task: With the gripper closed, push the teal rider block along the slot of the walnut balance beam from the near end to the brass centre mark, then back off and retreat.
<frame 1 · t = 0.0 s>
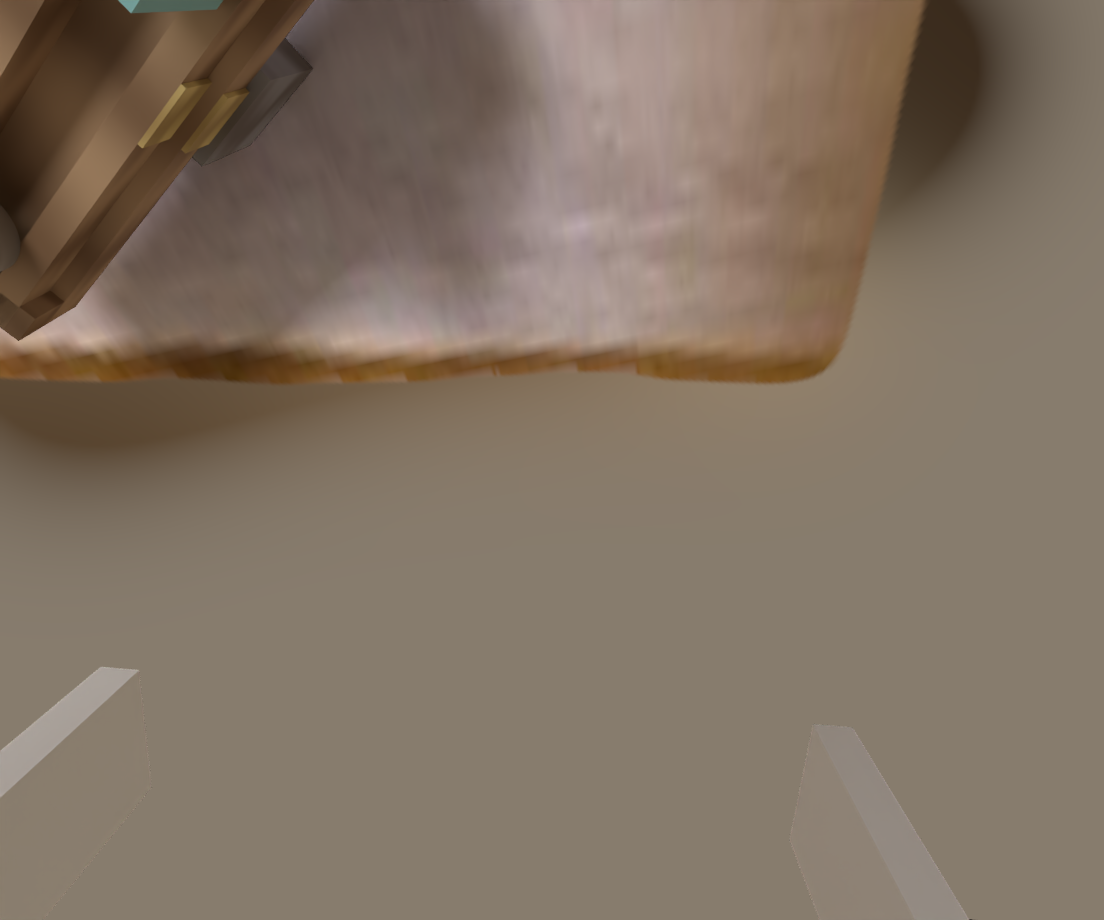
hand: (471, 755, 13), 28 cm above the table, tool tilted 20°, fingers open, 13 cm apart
beam: (208, 33, 31), on the table
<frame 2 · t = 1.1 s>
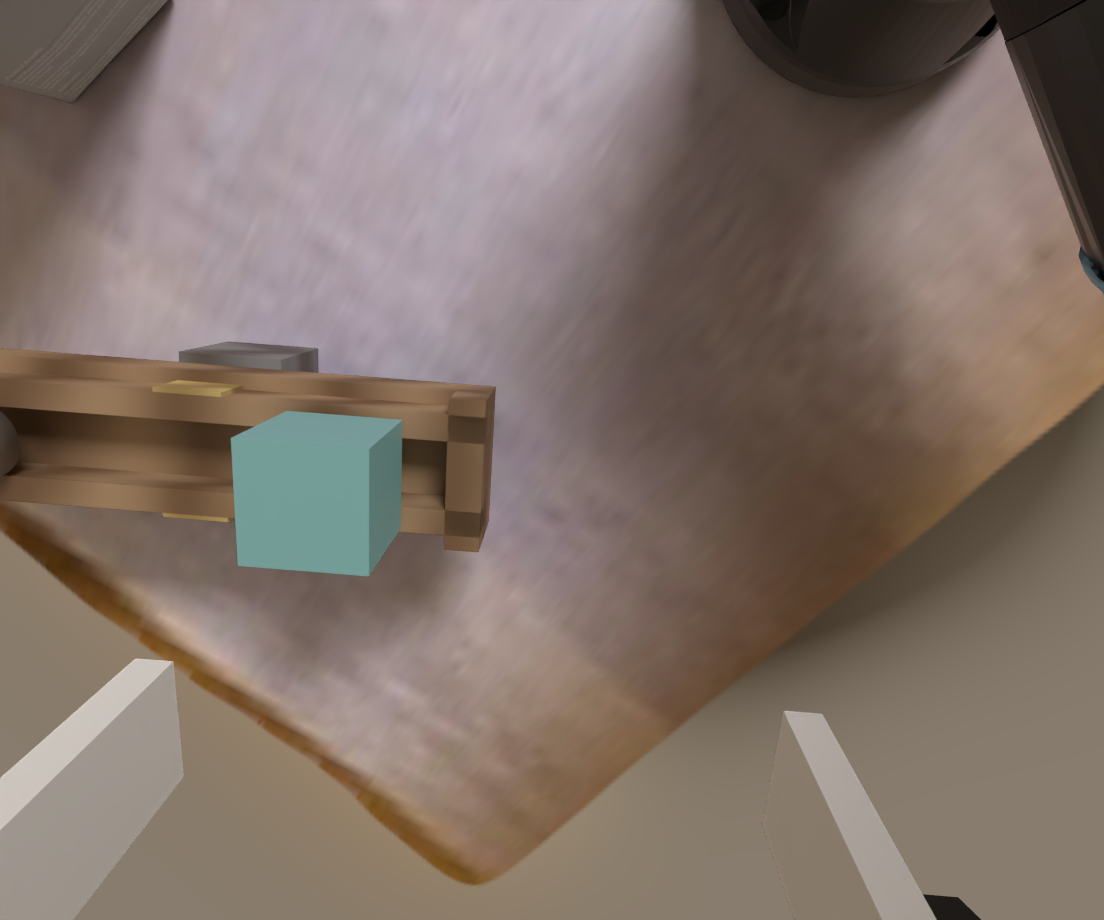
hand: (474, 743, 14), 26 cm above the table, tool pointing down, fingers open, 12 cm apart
beam: (275, 415, 39), on the table
rider: (333, 480, 29), point 11 cm above the table, slide at -7.0 cm
skincare box: (84, 7, 34), on the table
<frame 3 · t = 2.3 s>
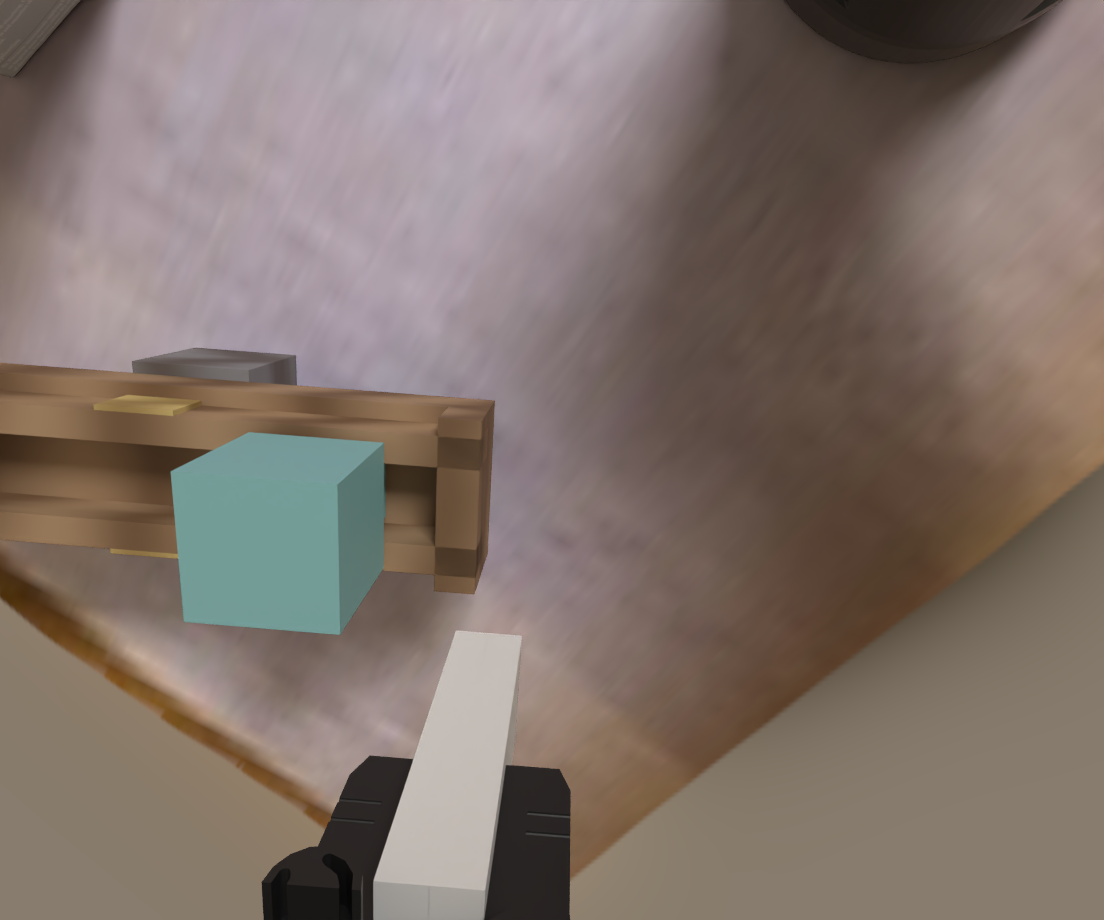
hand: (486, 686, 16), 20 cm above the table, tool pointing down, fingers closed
beam: (249, 430, 35), on the table
rider: (303, 515, 24), point 11 cm above the table, slide at -7.0 cm
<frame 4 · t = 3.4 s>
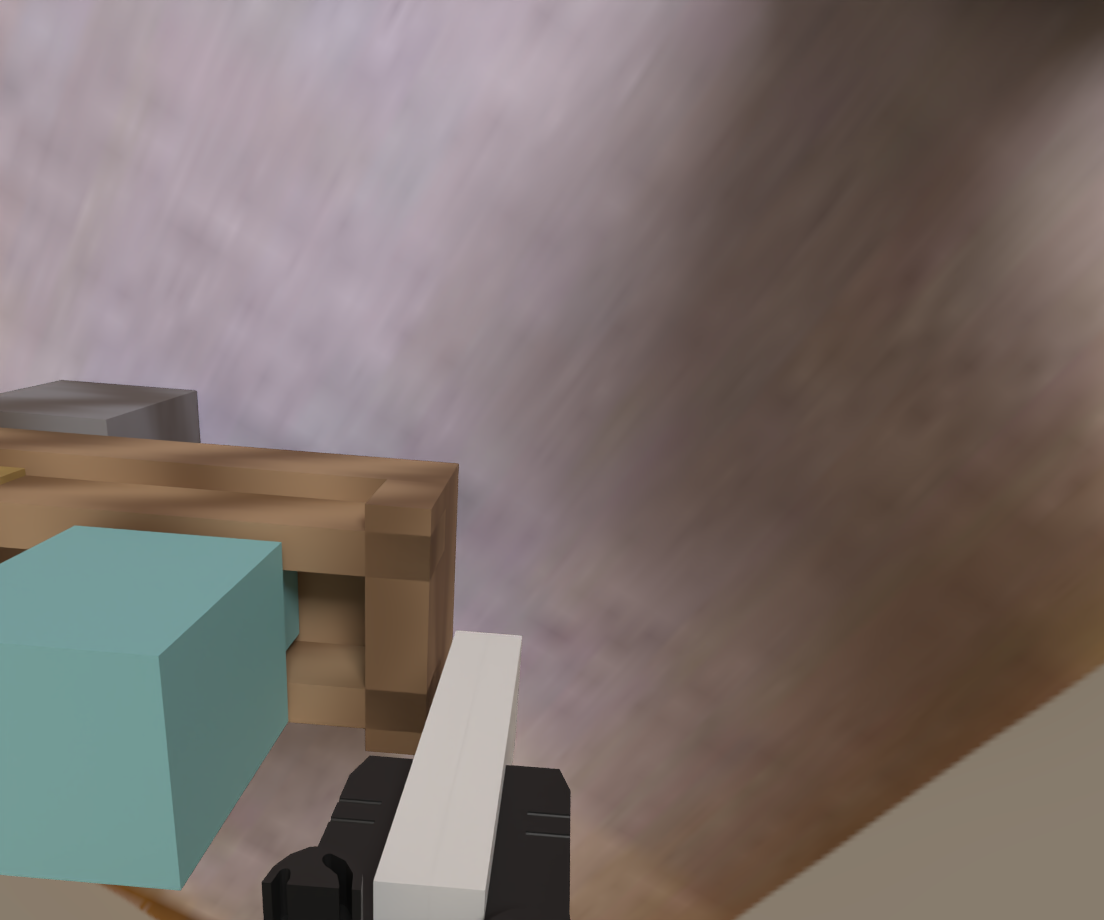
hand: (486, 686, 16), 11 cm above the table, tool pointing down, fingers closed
beam: (139, 488, 26), on the table
rider: (150, 659, 16), point 11 cm above the table, slide at -7.0 cm
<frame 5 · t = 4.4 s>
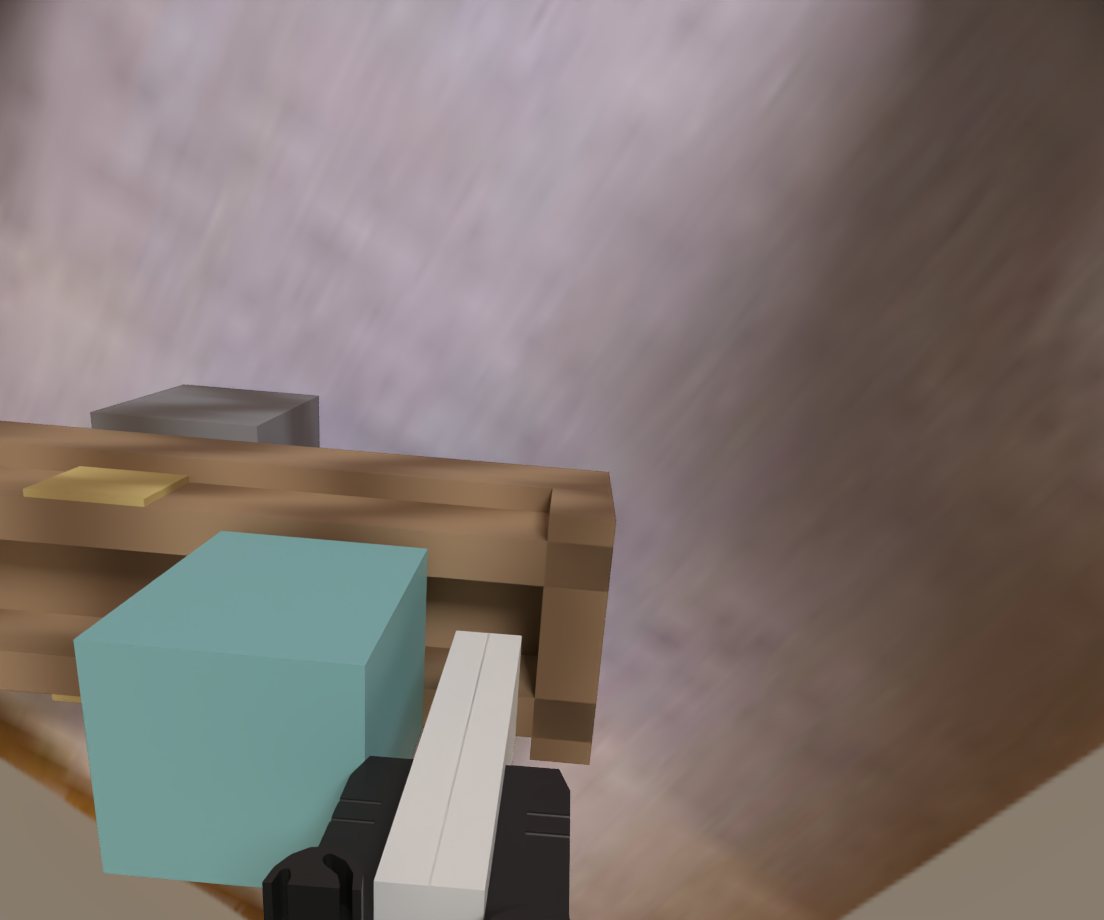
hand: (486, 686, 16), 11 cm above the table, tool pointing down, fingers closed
beam: (255, 493, 26), on the table
rider: (303, 664, 16), point 11 cm above the table, slide at -6.1 cm, touching gripper
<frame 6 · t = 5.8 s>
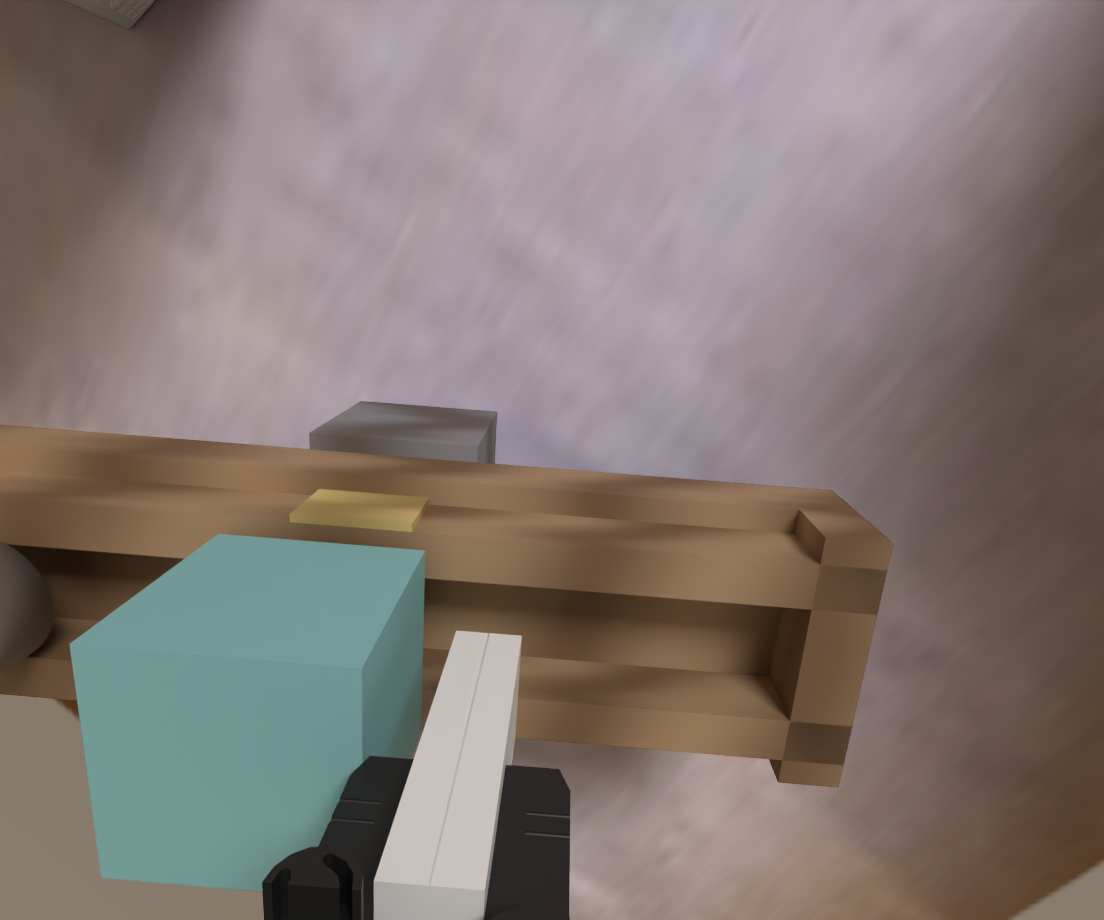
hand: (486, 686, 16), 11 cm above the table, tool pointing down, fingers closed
beam: (426, 509, 26), on the table
rider: (301, 667, 16), point 11 cm above the table, slide at 0.6 cm, touching gripper
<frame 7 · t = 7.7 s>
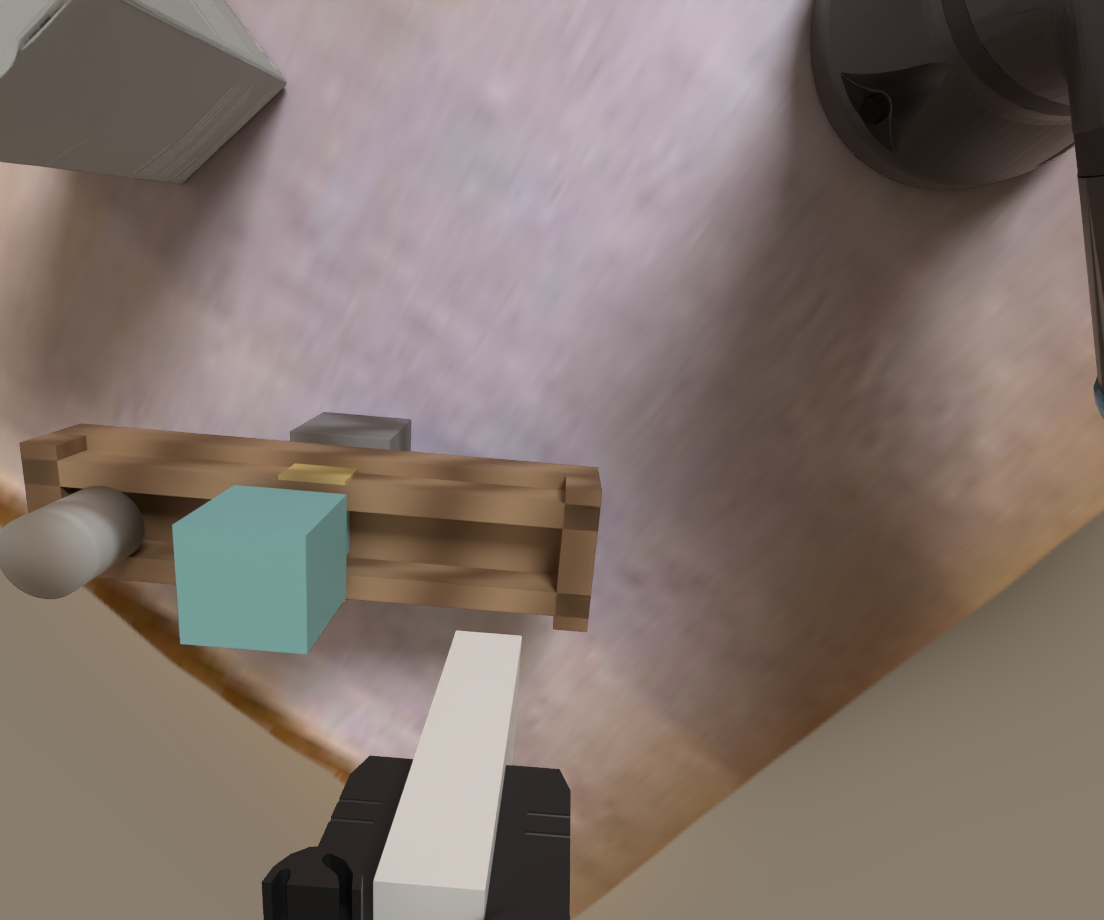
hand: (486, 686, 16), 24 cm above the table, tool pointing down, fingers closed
beam: (366, 482, 40), on the table
rider: (278, 554, 30), point 11 cm above the table, slide at 0.8 cm
skincare box: (196, 94, 35), on the table
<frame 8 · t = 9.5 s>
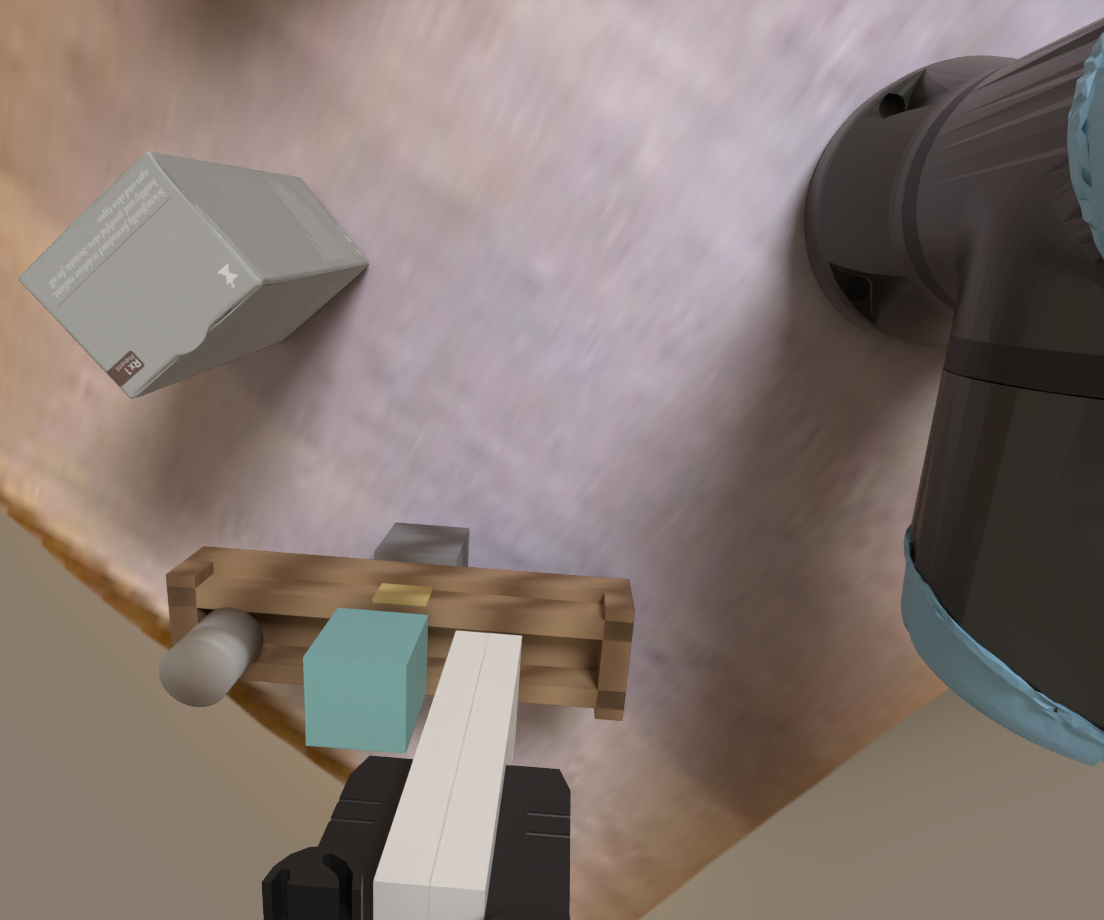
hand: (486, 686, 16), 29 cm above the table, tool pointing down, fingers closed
beam: (431, 579, 47), on the table
rider: (375, 665, 37), point 11 cm above the table, slide at 0.8 cm
skincare box: (294, 271, 42), on the table
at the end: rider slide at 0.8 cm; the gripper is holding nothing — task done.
